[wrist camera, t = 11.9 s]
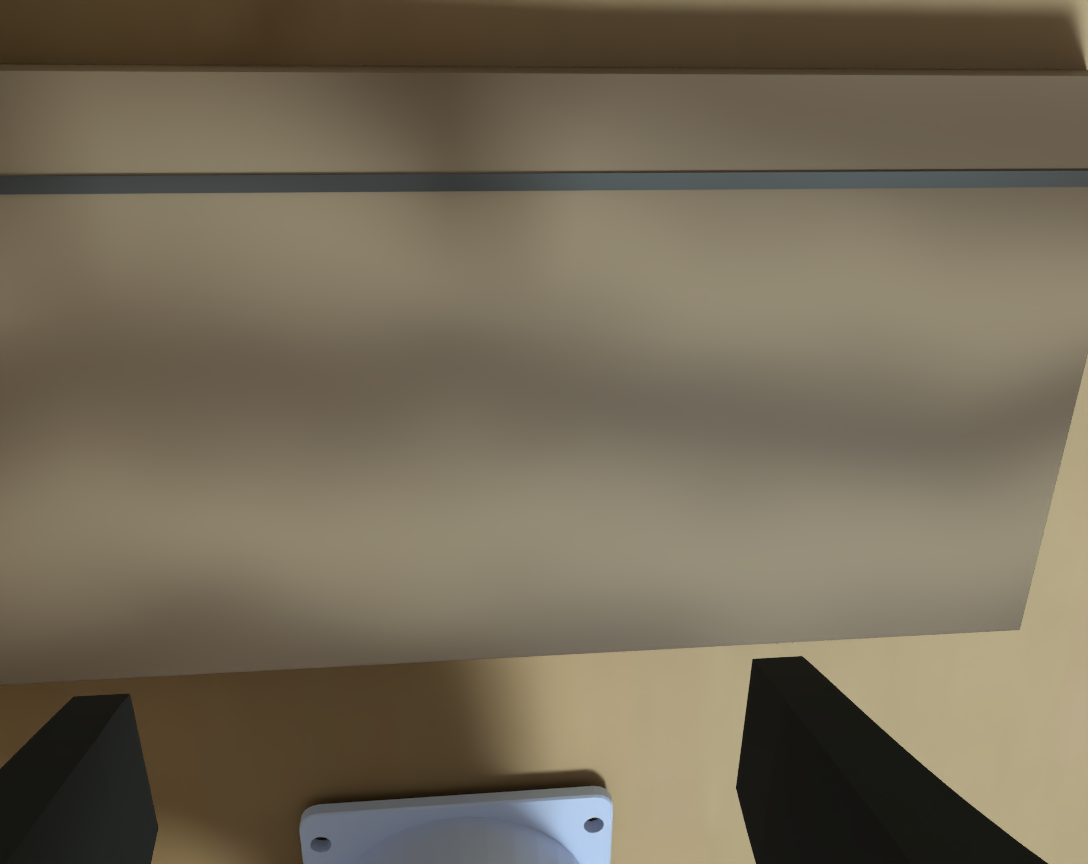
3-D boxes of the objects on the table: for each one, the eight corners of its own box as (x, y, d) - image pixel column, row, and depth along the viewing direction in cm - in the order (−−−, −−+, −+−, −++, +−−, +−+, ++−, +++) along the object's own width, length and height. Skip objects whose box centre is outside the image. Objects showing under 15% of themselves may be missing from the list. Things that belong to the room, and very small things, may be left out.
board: (975, 582, 24) (1020, 631, 22) (-327, 646, 21) (-401, 708, 19) (1088, 69, 19) (1159, 76, 18) (-574, 61, 16) (-704, 67, 15)
